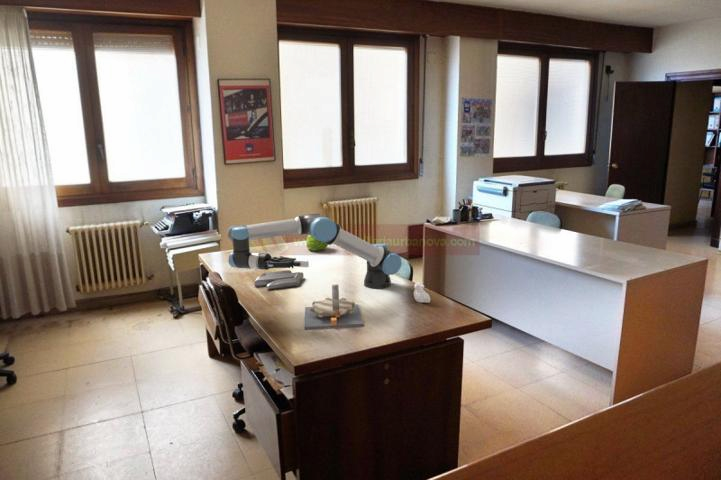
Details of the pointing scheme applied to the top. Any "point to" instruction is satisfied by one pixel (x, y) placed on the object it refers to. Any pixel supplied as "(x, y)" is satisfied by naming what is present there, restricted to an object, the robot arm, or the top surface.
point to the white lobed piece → (332, 305)
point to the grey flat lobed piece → (279, 279)
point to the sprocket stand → (333, 320)
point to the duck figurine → (420, 293)
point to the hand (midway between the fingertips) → (307, 264)
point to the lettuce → (315, 244)
